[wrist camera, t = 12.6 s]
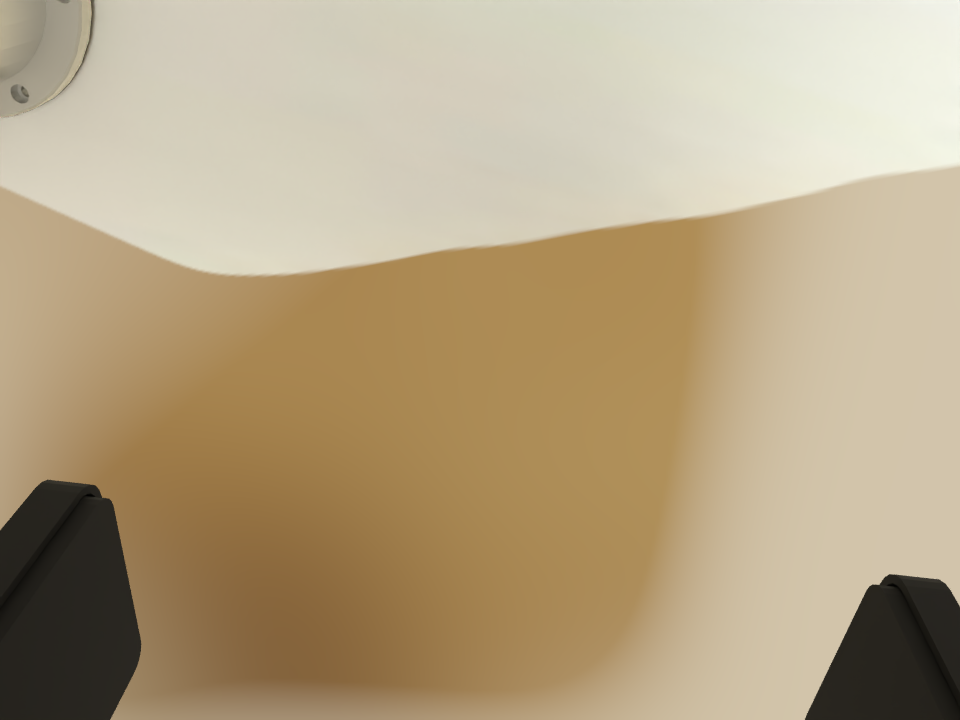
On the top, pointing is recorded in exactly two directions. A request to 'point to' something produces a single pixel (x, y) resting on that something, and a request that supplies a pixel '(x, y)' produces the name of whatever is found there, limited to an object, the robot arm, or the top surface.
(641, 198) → the top surface
